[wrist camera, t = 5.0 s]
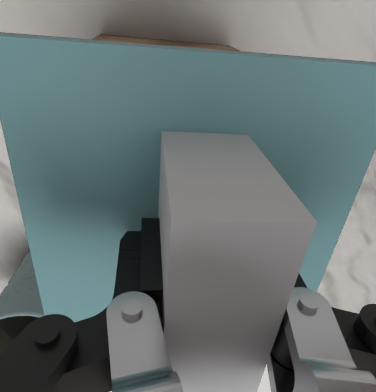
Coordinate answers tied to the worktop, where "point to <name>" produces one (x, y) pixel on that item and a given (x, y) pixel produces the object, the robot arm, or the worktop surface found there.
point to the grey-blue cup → (19, 303)
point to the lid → (185, 182)
